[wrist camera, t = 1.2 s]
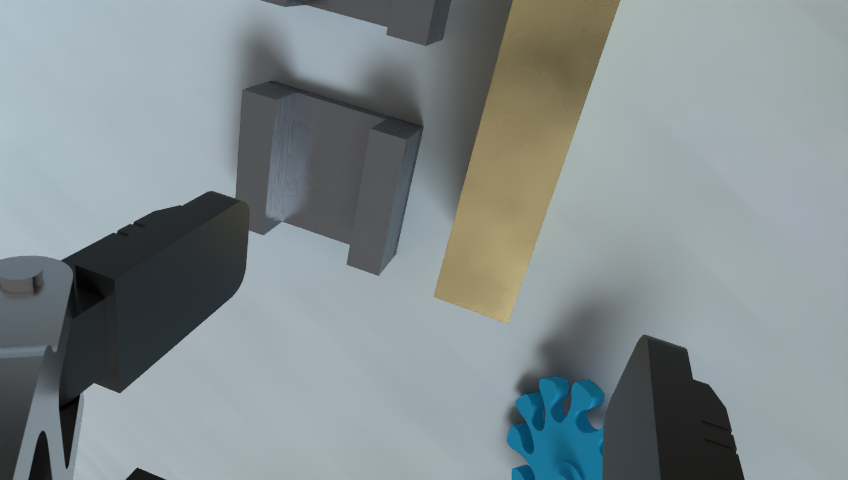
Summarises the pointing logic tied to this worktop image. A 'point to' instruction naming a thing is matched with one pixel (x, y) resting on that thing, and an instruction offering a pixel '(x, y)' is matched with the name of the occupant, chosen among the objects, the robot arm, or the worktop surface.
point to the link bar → (521, 148)
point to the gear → (558, 433)
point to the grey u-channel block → (335, 148)
